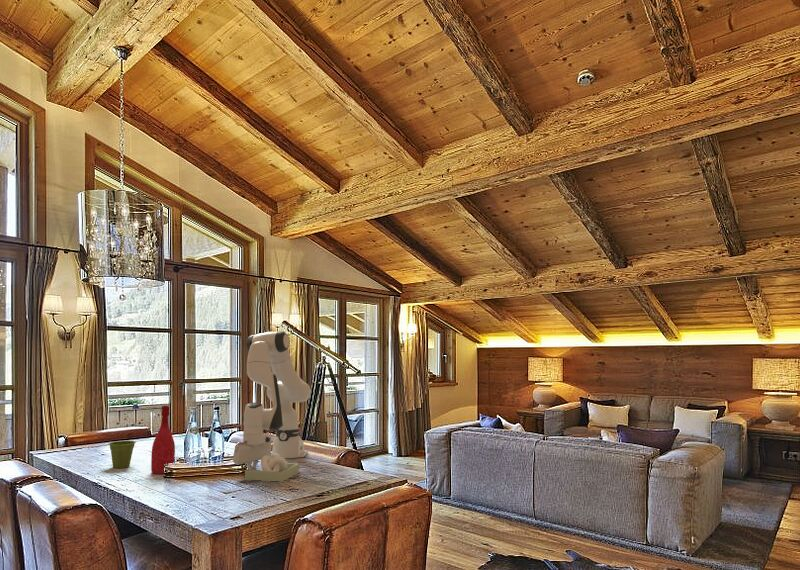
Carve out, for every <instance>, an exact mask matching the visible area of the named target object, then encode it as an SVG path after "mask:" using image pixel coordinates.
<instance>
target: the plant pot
mask: <svg viewBox="0 0 800 570" xmlns="http://www.w3.org/2000/svg"><path fill="white" fill-rule="evenodd" d="M136 443H137V442H136V441H135V440H118V441H117V440H116V441H113V442H112V441H111V442H109V443H108V445H109V448H110V449H109V450H110V455H111V461H112V462H111V463H112V468H115V469H124V468H128V467H130V465H131V461H132V455H133V451H134V448H135V445H136Z"/></svg>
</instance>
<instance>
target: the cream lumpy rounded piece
mask: <svg viewBox="0 0 800 570" xmlns="http://www.w3.org/2000/svg"><path fill="white" fill-rule="evenodd" d="M287 463H288V462H287V460H286V458H283V457H281V456H280V455H279V454H273V455H272V456H270V457H269V456H268V455H265V456H263V457H262V458H261V460H260V465H261V469H262V471H273V472H282V471H284V470H286V469H287ZM280 465H281V467H280Z"/></svg>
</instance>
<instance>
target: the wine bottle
mask: <svg viewBox="0 0 800 570" xmlns="http://www.w3.org/2000/svg"><path fill="white" fill-rule="evenodd" d="M160 415H161V423H160V426H159V429H158V431H157V434H156V435H155V438H154V439H153V442H152V446H151V461H150V464H151V466H150V468H151V469H150V470H151V471H150V472H151V473H152V474H154V475H165V474H164V464H166V463H167V464H168V463H173V462H174V463H175V459H176V458H175V456H176V455H175V454H176V445H175V444H176V443H175V440H174V437H173V434H172V432H171V429H170V427H169V426H170V425H169V416H170V406H169V405H167V404H166V405H162V406H161V413H160Z"/></svg>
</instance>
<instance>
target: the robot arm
mask: <svg viewBox="0 0 800 570" xmlns="http://www.w3.org/2000/svg"><path fill="white" fill-rule="evenodd" d="M289 337H290V336H289V334H287V332H285V331H280V330H277V331H265V332H261V333H255V334H251V335H249V336H248V337H247V339H246V341H245V348H246V351H247V352H248V353H247V360H246V374H247V376H248V378H249V379H250V380H251V381H252V382H254V383H256V384H258V385H261V386H263V387H266V396H267V398H268V399H269V400H270V401H271V404H272V407H270V408H264V407H263V403H260V402H250V403H247V404H245V407H244V412H243V413H242V416H241V418H242V421H241V426H243V432H242V441H238V442H237V443H236V444H235V445H234V449H233V450H234V451H233V458H232V462H233V463H234V464H235V465H242V464H243V465H244V464H246V466H247V468H248V469H247V470H253V471H257V469H256V468H257V466H258V464H259V461H261V458H262V457H263V456H265V455H268V456H269V457H271V456H272V455H273V454H279V455H280V456H281V457H283V458H284V459H295V458H304V457H306V455H307V454H308V453H309V451H308V450H306V449H305V448H304V447H305V446H304V444H305V443H304V440H303V439H302V438H301V436H300V433H301V428H300V427H299V412H298V411H297V410H295V409H294V408H293V406H292V403H294V404H296V403H297V404H299V403H304V402H307V401H308V400H309V398H310V396H311V394H312V389H311V387H310V385H309V383H307V382H305V381H304V380H303V379H302V378H301V377H300V375H298V373H297V371H296V370H295V367H294V365H293V360H292V357H291V354H290V350H289V347H290V344H291V343H290V338H289ZM264 430H268V431H275V437H274V438H273V440H272V437H271V436H267V435H264ZM272 441H273V442H272ZM271 442H272V443H271Z"/></svg>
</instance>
